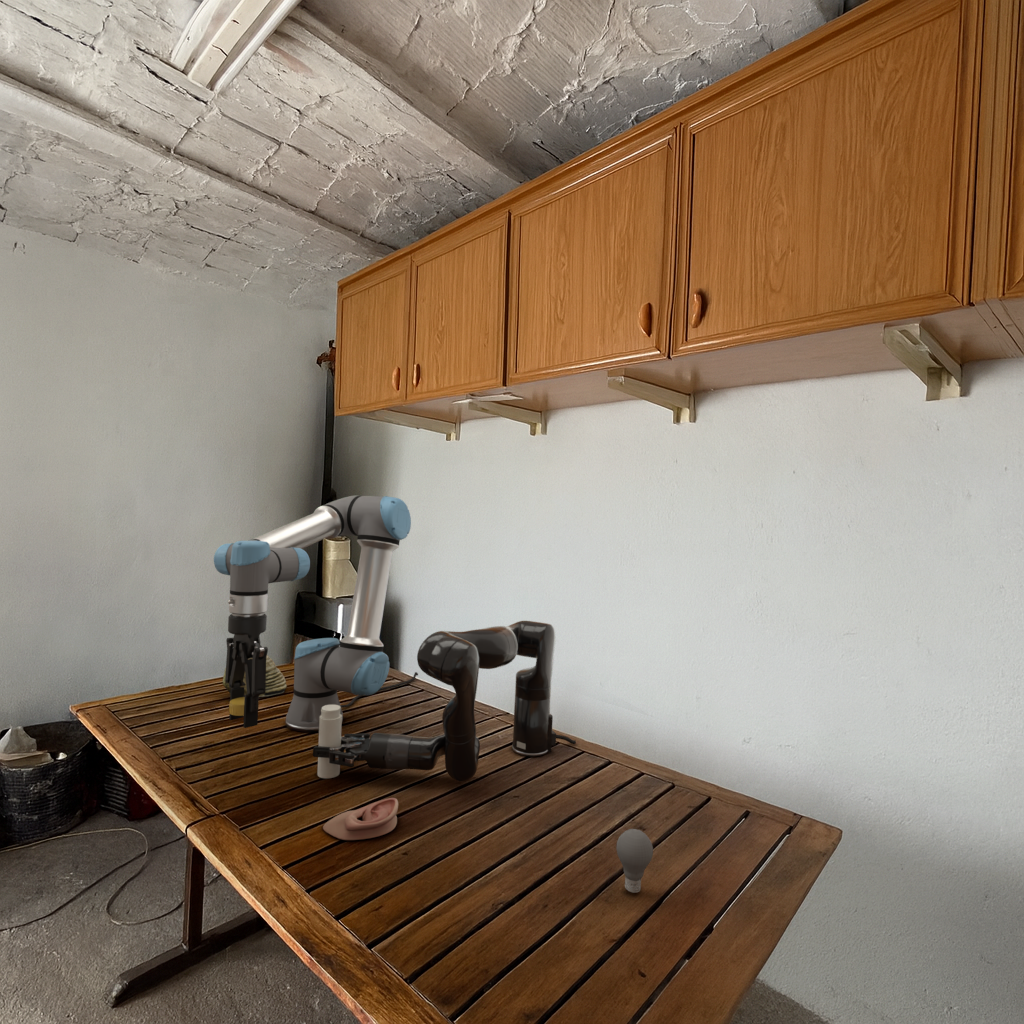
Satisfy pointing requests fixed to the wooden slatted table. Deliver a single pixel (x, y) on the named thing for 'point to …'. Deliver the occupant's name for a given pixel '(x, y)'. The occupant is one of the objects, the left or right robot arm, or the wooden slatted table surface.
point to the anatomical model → (364, 821)
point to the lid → (237, 706)
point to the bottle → (329, 738)
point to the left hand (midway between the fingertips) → (243, 722)
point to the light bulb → (634, 857)
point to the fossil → (267, 680)
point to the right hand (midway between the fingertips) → (318, 746)
